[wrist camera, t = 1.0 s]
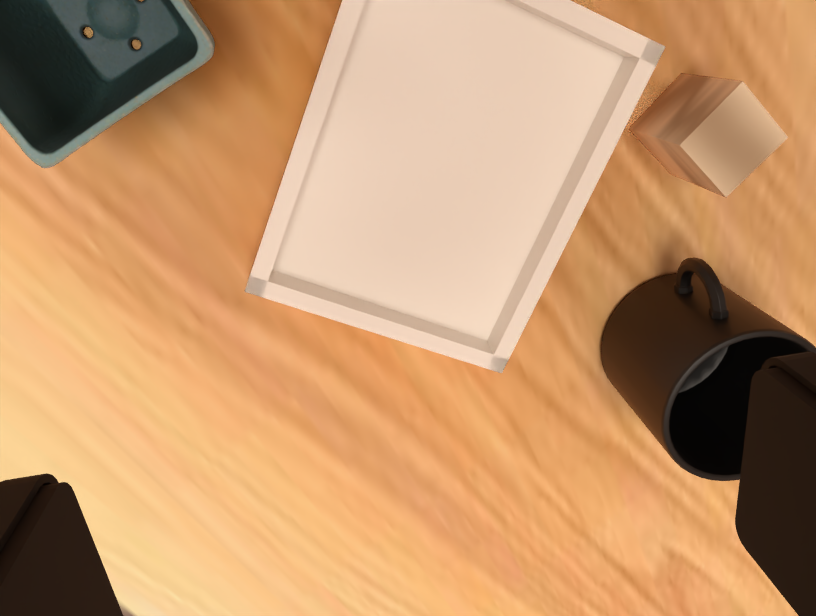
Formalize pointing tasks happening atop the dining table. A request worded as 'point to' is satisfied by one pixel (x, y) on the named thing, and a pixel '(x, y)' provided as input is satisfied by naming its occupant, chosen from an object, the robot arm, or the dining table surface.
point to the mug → (693, 364)
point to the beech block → (709, 131)
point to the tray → (447, 166)
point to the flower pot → (89, 66)
